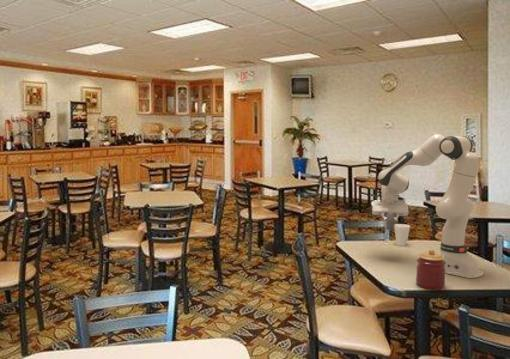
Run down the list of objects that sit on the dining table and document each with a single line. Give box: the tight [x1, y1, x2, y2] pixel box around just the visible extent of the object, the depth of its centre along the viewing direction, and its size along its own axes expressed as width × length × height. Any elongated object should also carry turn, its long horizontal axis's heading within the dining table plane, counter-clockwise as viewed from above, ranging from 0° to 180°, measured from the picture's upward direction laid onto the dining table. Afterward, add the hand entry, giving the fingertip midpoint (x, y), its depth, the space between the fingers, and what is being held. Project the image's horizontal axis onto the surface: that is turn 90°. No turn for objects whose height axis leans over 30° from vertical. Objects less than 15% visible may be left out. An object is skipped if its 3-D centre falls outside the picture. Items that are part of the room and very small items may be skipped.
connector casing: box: [385, 209, 396, 231], centre depth 248 cm, size 7×4×11 cm, turn 168°
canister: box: [415, 248, 446, 291], centre depth 208 cm, size 13×13×18 cm
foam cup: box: [394, 223, 411, 247], centre depth 285 cm, size 10×9×13 cm
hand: (390, 220), depth 247 cm, fingers closed on connector casing, 4 cm apart
